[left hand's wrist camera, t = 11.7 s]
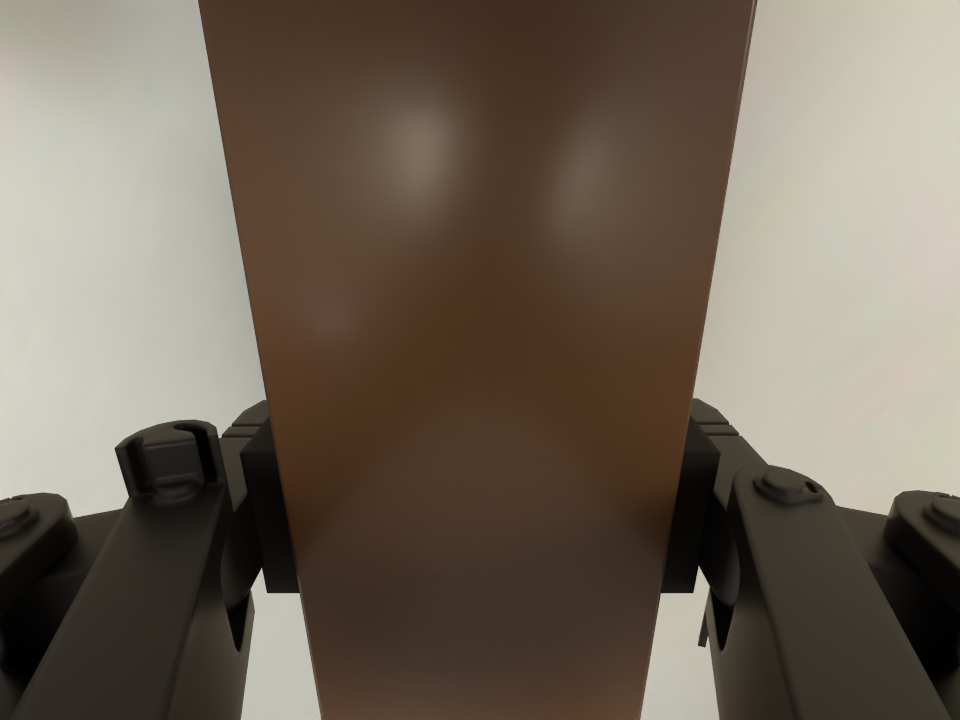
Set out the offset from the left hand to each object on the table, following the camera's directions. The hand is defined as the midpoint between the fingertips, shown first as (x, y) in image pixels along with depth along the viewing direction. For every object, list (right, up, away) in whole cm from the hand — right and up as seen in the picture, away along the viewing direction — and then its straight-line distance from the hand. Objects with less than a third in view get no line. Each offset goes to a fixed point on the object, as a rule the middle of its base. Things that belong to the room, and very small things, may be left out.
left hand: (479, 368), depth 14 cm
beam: (0, -18, +8) cm, 20 cm away
